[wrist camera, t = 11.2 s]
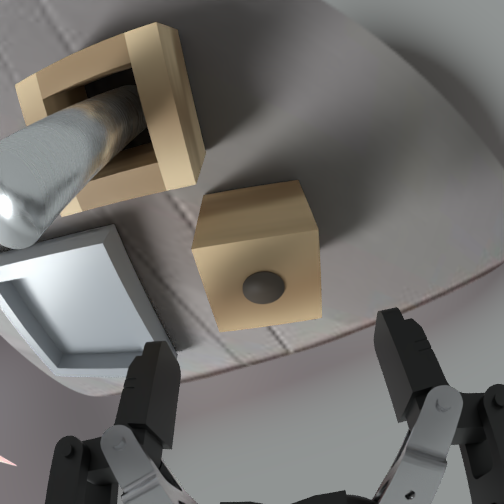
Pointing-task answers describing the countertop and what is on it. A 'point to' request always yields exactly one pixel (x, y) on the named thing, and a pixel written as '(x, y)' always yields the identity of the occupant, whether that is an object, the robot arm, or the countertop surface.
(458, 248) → the countertop surface
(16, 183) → the cylinder
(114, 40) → the oak block
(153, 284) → the countertop surface
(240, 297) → the block
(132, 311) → the tray
